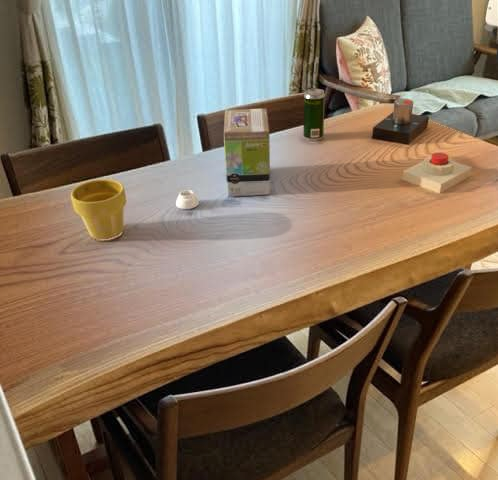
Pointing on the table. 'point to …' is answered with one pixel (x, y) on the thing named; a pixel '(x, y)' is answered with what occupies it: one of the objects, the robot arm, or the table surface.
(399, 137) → the hob
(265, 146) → the tea box
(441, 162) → the button
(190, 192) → the lidless jar
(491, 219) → the table surface
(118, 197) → the flower pot
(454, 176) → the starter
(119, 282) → the table surface
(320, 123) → the beer can
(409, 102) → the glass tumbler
